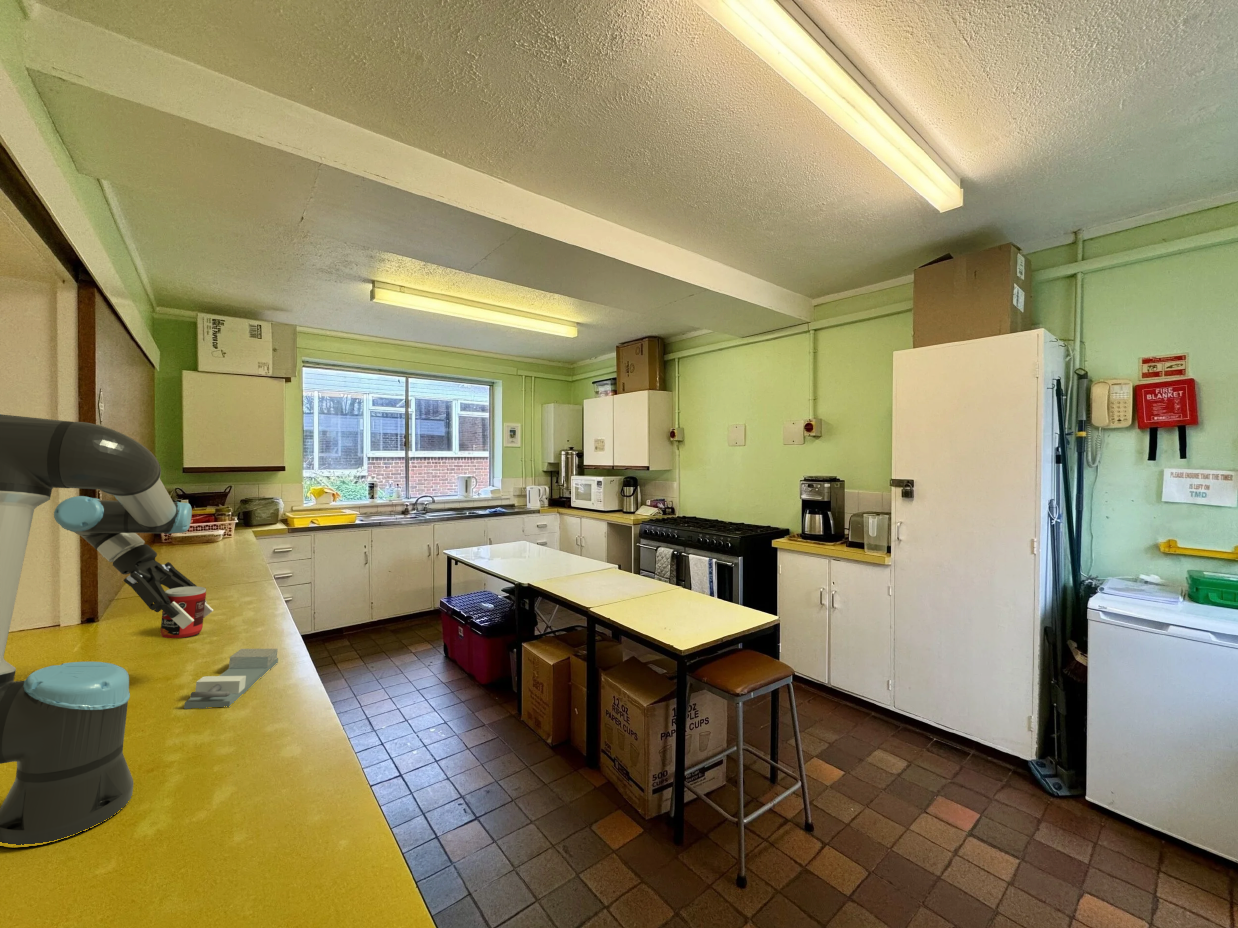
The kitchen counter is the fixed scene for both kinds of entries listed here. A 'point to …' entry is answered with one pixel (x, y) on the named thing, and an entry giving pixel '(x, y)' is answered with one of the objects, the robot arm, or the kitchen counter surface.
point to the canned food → (191, 604)
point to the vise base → (231, 697)
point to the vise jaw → (253, 658)
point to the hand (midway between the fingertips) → (198, 619)
